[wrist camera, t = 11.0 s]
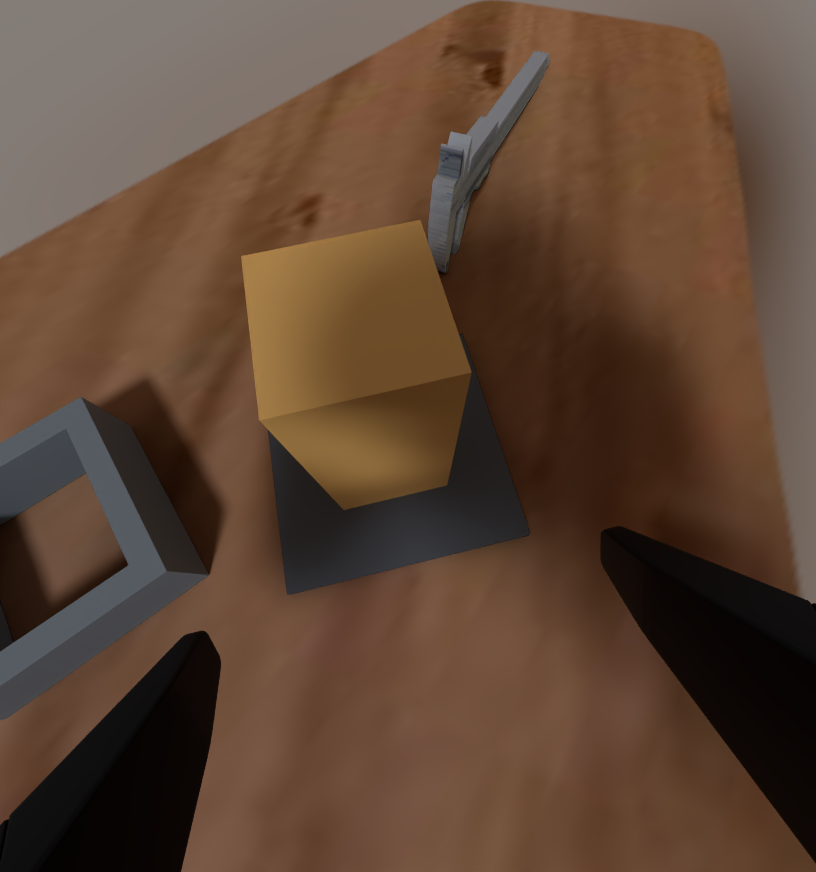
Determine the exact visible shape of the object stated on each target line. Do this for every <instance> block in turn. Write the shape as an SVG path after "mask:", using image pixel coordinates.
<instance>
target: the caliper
mask: <svg viewBox="0 0 816 872" xmlns="http://www.w3.org/2000/svg"><path fill="white" fill-rule="evenodd" d="M548 57H549V54H548V53H543V52H538V51H535V52H534V53H533V54H532V56H531V57H530V58H529V60H528V61H527V62H526V64H525V65H524V66H523V67H522V69H521V70H520V71H519V73H518V74H517V75H516V77H515V78H514V80H513V81H512V82H511V84H510V85H509V86H508V88H507V89H506V90H505V92H504V93H503V94H502V96H501V97H500V98H499V100H498V101H497V102H496V104H495V105H494V106H493V108H492V109H491V110H490V112H489V113H488V115H487V116H486V117H482V116H481V117H480V118H479V119H478V120H477V122H476V123H475V124H474V125H473V127H472V128H471V129H470V130H469V132H468V133H467V134H466V135H464V134H459V133H455V132H451V134H450V137H449V141H448V145H445V144H441V150H440V159H439V168H438V174H437V175H436V176H435V178H434V179H433V187H432V196H431V205H430V214H429V223H428V244H429V247H430V250H431V253H432V256H433V259H434V262H435V265H436V268H437V270H438V271H441V272H444V273H446V272H447V271H448V265H449V258H450V253H453V254H456V253H457V251H458V249H459V246H460V242H461V238H462V233H463V229H464V225H465V221H466V216H467V212H468V208H469V203H470V199H471V195H472V193H473V192H474V191H476V190H478V189H479V188H480V187H481V185H482V182H483V181H484V179H486V178H487V176H488V173H489V169H490V164H491V159H492V157H493V156H494V154H495V153H496V151H497V150H498V148H499V147H500V145H501V144H502V142H503V140H504V139H505V137H506V136H507V134H508V133H509V131H510V130H511V128H512V126H513V125H514V123H515V122H516V120H517V119H518V117H519V116H520V114H521V113H522V111H523V109H524V108H525V106H526V105H527V103H528V102H529V100H530V99H531V97H532V96H533V94H534V93H535V91H536V90H537V88H538V86H539V84H540V82H541V80H542V78H543V76H544V73H545V70H546V69H547V67H548V66H549V63H550V58H548Z"/></svg>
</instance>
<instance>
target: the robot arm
mask: <svg viewBox="0 0 816 872" xmlns="http://www.w3.org/2000/svg"><path fill="white" fill-rule="evenodd" d="M601 563H602V565H603V568H604V570H605V571H606V573H607V575H608V576H609V578H610V580H611V581H612V583H613V585H614V586H615V588H616V590H617V591H618V593H619V595H620V596H621V598H622V599H623V601H624V603H625V604H626V606H627V608H628V609H629V611H630V613H631V614H632V616H633V618H634V619H635V621H636V622H637V624H638V626H639V627H640V629H641V630H642V632H643V633H644V634H645V636H646V637H647V639H648V640H649V641H650V643H651V644H652V645H653V647H654V648H655V649H656V651H657V652H658V653H659V655H660V656H661V657H662V659H663V660H664V661H665V663H666V664H667V665H668V667H669V668H670V669H671V671H672V672H673V673H674V675H675V676H676V677H677V679H678V680H679V681H680V683H681V684H682V685H683V687H684V688H685V689H686V691H687V692H688V693H689V695H690V696H691V697H692V699H693V700H694V701H695V703H696V704H697V705H698V707H699V708H700V709H701V711H702V712H703V713H704V715H705V716H706V717H707V719H708V720H709V721H710V723H711V724H712V725H713V727H714V728H715V729H716V731H717V732H718V733H719V735H720V736H721V737H722V739H723V740H724V741H725V743H726V744H727V745H728V747H729V748H730V750H731V751H732V752H733V754H734V755H735V756H736V758H737V759H738V760H739V762H740V763H741V764H742V766H743V767H744V768H745V770H746V771H747V772H748V774H749V775H750V776H751V778H752V779H753V780H754V782H755V783H756V784H757V786H758V787H759V788H760V790H761V791H762V792H763V794H764V795H765V796H766V798H767V799H768V800H769V802H770V803H771V804H772V806H773V807H774V808H775V810H776V811H777V812H778V814H779V815H780V816H781V818H782V819H783V820H784V822H785V823H786V824H787V826H788V827H789V828H790V830H791V831H792V832H793V834H794V835H795V836H796V838H797V839H798V840H799V842H800V843H801V844H802V846H803V847H804V848H805V850H806V851H807V852H808V854H809V855H810V856H811V858H812V859H813V860H814V862H815V863H816V604H815V603H813V604H811V603H810V602H809V601H808V600H805V599H803V598H800V597H798V596H795V595H793V594H790V593H788V592H785V591H783V590H780V589H778V588H775V587H772V586H770V585H767V584H765V583H762V582H760V581H757V580H755V579H752V578H750V577H747V576H745V575H742V574H740V573H737V572H735V571H732V570H730V569H727V568H725V567H722V566H720V565H717V564H715V563H712V562H710V561H707V560H704V559H702V558H699V557H697V556H694V555H692V554H689V553H687V552H684V551H682V550H679V549H677V548H674V547H672V546H669V545H667V544H664V543H662V542H659V541H657V540H654V539H652V538H649V537H647V536H644V535H642V534H639V533H637V532H634V531H631V530H629V529H626V528H624V527H621V526H616V527H612V528H608V529H605V530H603V531H602V532H601ZM220 670H221V659H220V656H219V654H218V652H217V650H216V648H215V646H214V644H213V642H212V641H211V639H210V637H209V635H208V634H207V633H206V632H205V631H198V632H194V633H190V634H187V635H184V636H183V637H182V638H181V639H180V640H179V641H178V642H177V643H176V644H175V645H174V646H173V647H172V648H171V649H170V650H169V651H168V652H167V653H166V654H165V655H164V656H163V657H162V658H161V659H160V660H159V661H158V663H157V664H156V665H155V666H154V667H153V668H152V669H151V670H150V671H149V672H148V673H147V674H146V675H145V676H144V677H143V678H142V679H141V680H140V681H139V682H138V683H137V684H136V685H135V686H134V687H133V688H132V689H131V690H130V691H129V693H128V694H127V695H126V696H125V697H124V698H123V699H122V700H121V701H120V702H119V703H118V704H117V705H116V706H115V707H114V708H113V709H112V710H111V711H110V712H109V713H108V714H107V715H106V716H105V717H104V718H103V719H102V720H101V721H100V722H99V724H98V725H97V726H96V727H95V728H94V729H93V730H92V731H91V732H90V733H89V734H88V735H87V736H86V737H85V738H84V739H83V740H82V741H81V742H80V743H79V744H78V745H77V746H76V747H75V748H74V749H73V750H72V751H71V752H70V753H69V755H68V756H67V757H66V758H65V759H64V760H63V761H62V762H61V763H60V764H59V765H58V766H57V767H56V768H55V769H54V770H53V771H52V772H51V773H50V774H49V775H48V776H47V777H46V778H45V779H44V780H43V781H42V782H41V783H40V784H39V786H38V787H37V788H36V789H35V790H34V791H33V792H32V793H31V794H30V795H29V796H28V797H27V798H26V799H25V800H24V801H23V802H22V803H21V804H20V805H19V806H18V807H17V808H16V809H15V810H14V811H13V812H12V813H11V815H10V817H9V819H8V820H5V821H4V822H3V823H2V824H1V825H0V872H181V869H182V865H183V861H184V856H185V852H186V848H187V844H188V839H189V835H190V831H191V826H192V822H193V818H194V813H195V809H196V805H197V801H198V796H199V792H200V788H201V783H202V779H203V775H204V770H205V766H206V762H207V758H208V753H209V748H210V743H211V737H212V731H213V723H214V716H215V708H216V701H217V693H218V685H219V678H220Z"/></svg>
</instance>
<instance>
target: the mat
mask: <svg viewBox="0 0 816 872" xmlns="http://www.w3.org/2000/svg"><path fill="white" fill-rule="evenodd" d="M459 336H460V339H461V342H462V345H463V348H464V351H465V354H466V357H467V360H468V363H469V366H470V369H471V372H472V373H471V378H470V382H469V387H468V392H467V396H466V401H465V405H464V410H463V415H462V419H461V424H460V429H459V433H458V438H457V442H456V447H455V452H454V456H453V461H452V465H451V470H450V475H449V479H448V484H447V486H442V487H438V488H434V489H430V490H426V491H422V492H417V493H413V494H409V495H405V496H401V497H396V498H392V499H388V500H384V501H380V502H376V503H371V504H367V505H363V506H359V507H355V508H351V509H346V510H343V509H342V508H341V507H340V506H339V504H338V503H337V502H336V501H335V500H334V499H333V498H332V497H331V496H330V495H329V494H328V493H327V492H326V491H325V490H324V489H323V488H322V486H321V485H320V484H319V483H318V482H317V481H316V480H315V479H314V478H313V477H312V476H311V475H310V474H309V473H308V472H307V471H306V469H305V468H304V467H303V466H302V465H301V464H300V463H299V462H298V461H297V460H296V459H295V458H294V457H293V456H292V455H291V454H290V453H289V451H288V450H287V449H286V448H285V447H284V446H283V445H282V444H281V443H280V442H279V441H278V440H277V439H276V438H275V437H274V436H273V434H272V433H271V432H270V431H269V430H268V434H269V443H270V451H271V460H272V469H273V477H274V486H275V494H276V503H277V512H278V520H279V529H280V537H281V546H282V555H283V563H284V572H285V581H286V589H287V594H295V593H299V592H303V591H307V590H311V589H315V588H319V587H323V586H327V585H331V584H335V583H339V582H343V581H347V580H351V579H355V578H359V577H363V576H367V575H371V574H375V573H379V572H383V571H387V570H391V569H395V568H399V567H403V566H407V565H411V564H415V563H420V562H424V561H428V560H432V559H436V558H440V557H444V556H448V555H452V554H456V553H460V552H464V551H468V550H472V549H476V548H480V547H484V546H488V545H492V544H496V543H500V542H504V541H508V540H512V539H516V538H520V537H524V536H528V535H530V531H529V528H528V525H527V522H526V519H525V516H524V514H523V511H522V508H521V505H520V502H519V499H518V496H517V493H516V490H515V487H514V484H513V481H512V478H511V475H510V472H509V469H508V466H507V463H506V461H505V458H504V455H503V452H502V449H501V446H500V443H499V440H498V437H497V434H496V431H495V428H494V425H493V422H492V419H491V416H490V413H489V410H488V407H487V405H486V402H485V399H484V396H483V393H482V390H481V387H480V384H479V381H478V378H477V375H476V372H475V369H474V366H473V363H472V360H471V357H470V354H469V351H468V349H467V346H466V343H465V340H464V337H463V334H459Z"/></svg>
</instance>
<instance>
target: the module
mask: <svg viewBox="0 0 816 872" xmlns="http://www.w3.org/2000/svg"><path fill="white" fill-rule="evenodd" d="M241 258H242V267H243V276H244V285H245V295H246V304H247V313H248V322H249V331H250V340H251V349H252V359H253V368H254V377H255V386H256V395H257V404H258V413H259V421H260V422H261V423H262V424H263V425H264V426H265V427H266V428H267V429H268V430H269V431H270V432H271V433H272V434H273V436H274V437H275V438H276V439H277V440H278V441H279V442H280V443H281V444H282V445H283V446H284V447H285V448H286V449H287V450H288V451H289V453H290V454H291V455H292V456H293V457H294V458H295V459H296V460H297V461H298V462H299V463H300V464H301V465H302V466H303V467H304V468H305V469H306V471H307V472H308V473H309V474H310V475H311V476H312V477H313V478H314V479H315V480H316V481H317V482H318V483H319V484H320V485H321V486H322V488H323V489H324V490H325V491H326V492H327V493H328V494H329V495H330V496H331V497H332V498H333V499H334V500H335V501H336V502H337V503H338V504H339V506H340V507H341V508H342V509H343V510H346V509H351V508H355V507H359V506H363V505H367V504H371V503H376V502H380V501H384V500H388V499H392V498H396V497H401V496H405V495H409V494H413V493H417V492H422V491H426V490H430V489H434V488H438V487H442V486H447V484H448V479H449V475H450V470H451V465H452V461H453V456H454V452H455V447H456V442H457V438H458V433H459V429H460V424H461V419H462V415H463V410H464V405H465V401H466V396H467V392H468V387H469V382H470V378H471V373H472V372H471V369H470V366H469V363H468V360H467V357H466V354H465V351H464V348H463V345H462V342H461V339H460V336H459V333H458V330H457V327H456V324H455V321H454V319H453V316H452V313H451V310H450V307H449V304H448V301H447V298H446V295H445V292H444V289H443V286H442V283H441V280H440V277H439V274H438V271H437V268H436V265H435V262H434V259H433V256H432V253H431V250H430V247H429V244H428V241H427V238H426V235H425V232H424V229H423V226H422V223H421V220H416V221H411V222H406V223H402V224H397V225H392V226H387V227H382V228H377V229H372V230H367V231H363V232H358V233H353V234H348V235H343V236H338V237H333V238H328V239H323V240H319V241H314V242H309V243H304V244H299V245H294V246H289V247H284V248H280V249H275V250H270V251H265V252H260V253H255V254H250V255H245V256H241Z"/></svg>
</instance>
